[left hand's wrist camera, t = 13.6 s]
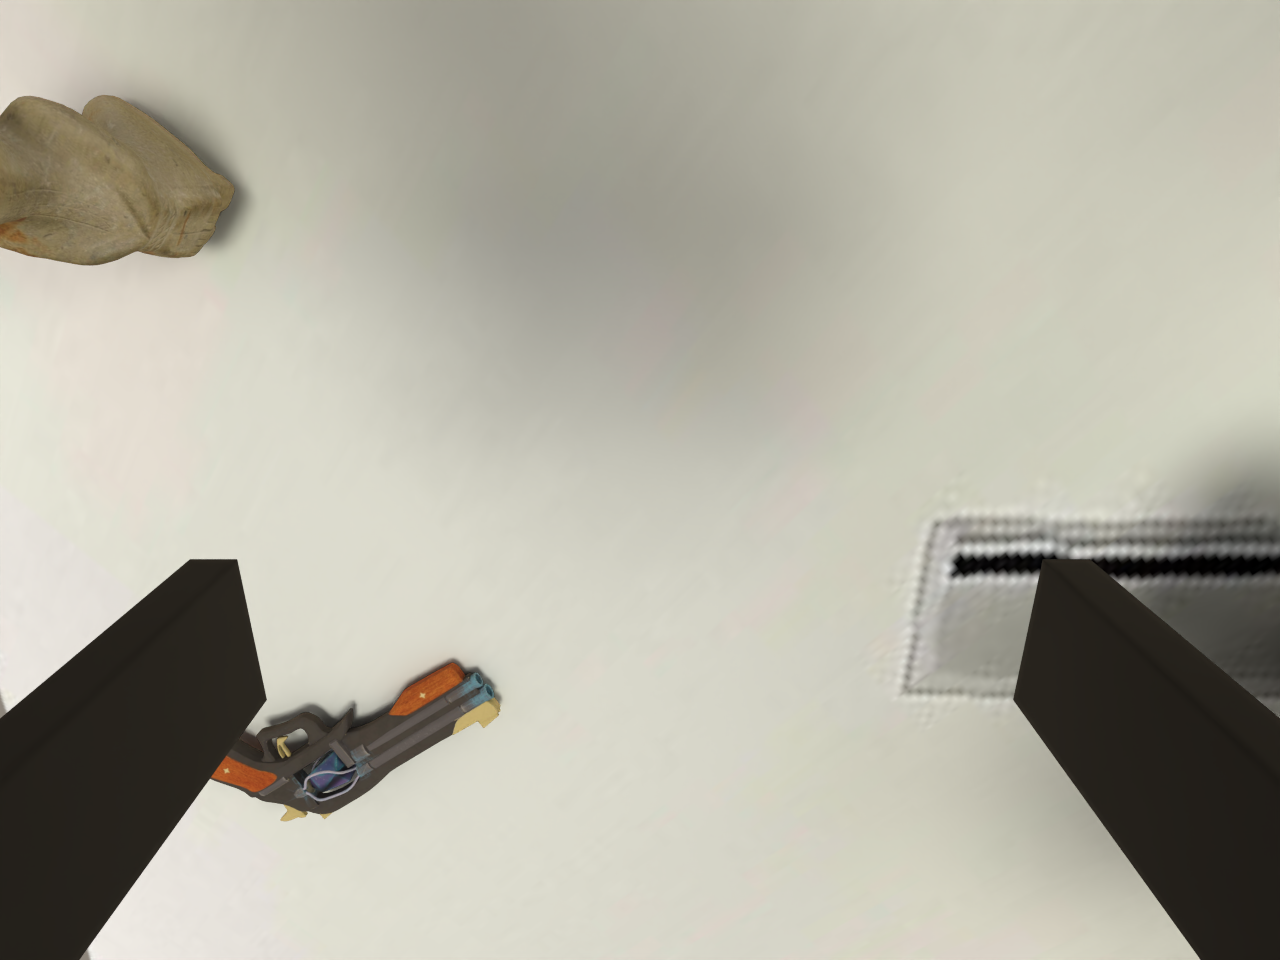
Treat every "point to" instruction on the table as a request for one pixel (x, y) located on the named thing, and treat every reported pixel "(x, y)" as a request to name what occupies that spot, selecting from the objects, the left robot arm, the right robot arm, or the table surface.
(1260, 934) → the left robot arm
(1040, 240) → the table surface
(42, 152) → the sculpture
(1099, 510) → the table surface
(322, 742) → the toy gun
